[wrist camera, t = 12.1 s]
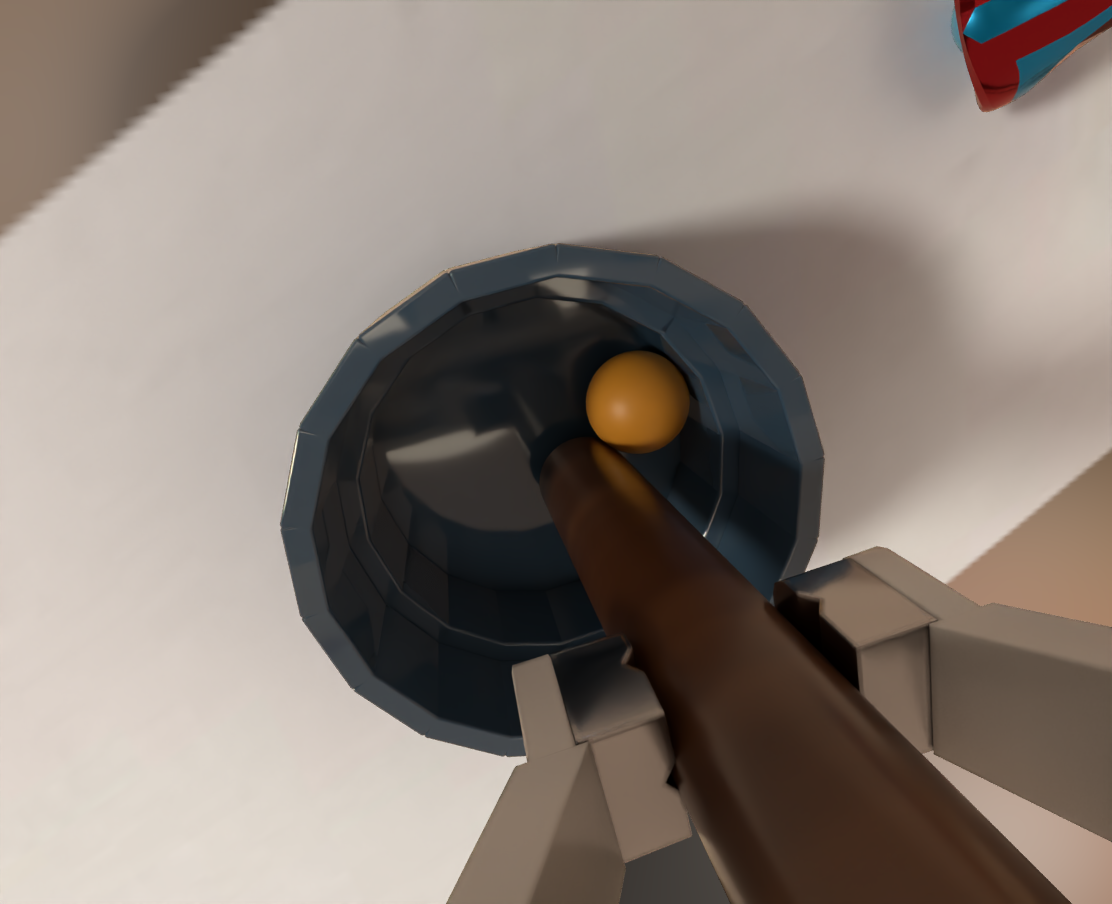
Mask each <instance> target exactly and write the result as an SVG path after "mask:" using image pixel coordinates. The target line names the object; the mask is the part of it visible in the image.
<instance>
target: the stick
mask: <svg viewBox="0 0 1112 904" xmlns="http://www.w3.org/2000/svg"><path fill="white" fill-rule="evenodd" d="M539 483H540V491H541V495H542V498H543V500H544V502H545V504H546V506H547V509H548V511H549V513H550V515H551V517H552V519H553V522H554V524H555V526H556V528H557V530H558V532H559V535H560V537H561V539H562V541H563V543H564V545H565V547H566V550H567V552H568V554H569V556H570V558H571V560H572V563H573V565H574V567H575V569H576V571H577V573H578V576H579V578H580V580H581V582H582V584H583V586H584V589H585V591H586V593H587V595H588V597H589V599H590V601H591V604H592V606H593V608H594V610H595V612H596V614H597V617H598V619H599V621H600V623H601V625H602V627H603V630H604V632H605V634H606V636H609V635H612V634H615V633H619V632H622V631H623V633H624V634H625V635H626V637H627V639H628V641H629V643H630V644H631V646H632V649H633V653H634V657H635V661H636V665H637V669H639V670H641V671H643V672H645V674H646V676H647V678H648V680H649V682H650V684H651V687H652V689H653V691H654V693H655V695H656V697H657V699H658V701H659V703H660V705H661V707H662V709H663V711H664V713H665V717H666V722H667V726H668V730H669V734H670V738H671V742H672V747H673V751H674V755H675V759H676V762H675V764H674V766H673V768H672V771H671V775H672V777H673V780H674V782H675V784H676V786H677V788H678V790H679V794H680V796H681V798H682V800H683V802H684V804H685V807H686V809H687V811H688V813H689V815H690V817H691V820H692V822H693V824H694V826H695V828H696V830H697V832H698V835H699V837H700V839H701V841H702V843H703V845H704V848H705V850H706V852H707V854H708V856H709V858H710V861H711V863H712V865H713V867H714V869H715V871H716V873H717V876H718V878H719V880H720V882H721V884H722V886H723V888H724V891H725V893H726V895H727V897H728V899H729V902H730V904H1071V902H1070V901H1069V900H1068V899H1067V898H1065V896H1064V895H1063V894H1062V893H1061V892H1060V891H1059V890H1057V888H1056V887H1055V886H1054V885H1053V884H1051V882H1050V881H1049V880H1048V879H1047V878H1046V877H1045V876H1044V875H1043V874H1042V873H1040V872H1039V870H1038V869H1036V867H1035V866H1034V865H1033V864H1032V863H1031V862H1030V861H1029V860H1028V859H1027V858H1026V857H1025V856H1024V855H1023V854H1022V853H1020V852H1019V850H1018V849H1016V848H1015V846H1013V844H1012V843H1011V842H1009V841H1008V839H1007V838H1006V837H1004V835H1003V834H1002V833H1000V832H999V830H998V829H996V828H995V827H994V826H993V825H992V824H991V823H990V822H989V821H988V820H987V819H986V818H985V817H984V816H983V815H982V814H981V813H980V812H979V811H978V810H977V809H976V808H975V807H974V806H973V805H972V804H971V803H970V802H969V801H968V800H967V799H966V798H965V797H964V796H963V795H962V794H961V793H960V792H959V791H958V790H957V789H956V788H955V787H954V786H953V785H952V784H951V783H950V782H949V781H948V780H947V779H946V778H945V777H944V776H943V775H942V774H941V773H940V772H939V771H938V770H937V769H936V768H935V767H934V766H933V765H932V764H931V763H930V762H929V761H928V760H927V759H926V758H925V757H924V756H923V755H922V754H921V753H920V752H919V751H918V750H917V749H916V748H915V747H914V746H913V745H912V744H911V743H910V742H909V741H908V740H907V739H906V738H905V737H904V736H903V735H902V734H901V733H900V732H899V731H898V730H897V729H896V728H895V727H894V726H893V725H892V724H891V723H890V722H889V721H888V720H887V719H886V718H885V717H884V716H883V715H882V714H881V713H880V712H879V711H878V710H877V709H876V708H875V707H874V706H873V705H872V704H871V703H870V702H869V701H868V700H867V699H866V698H865V697H864V696H863V695H862V694H861V693H860V692H859V691H858V690H857V689H856V688H855V687H854V686H853V685H852V684H851V683H850V682H849V681H848V680H847V679H846V678H845V677H844V676H843V675H842V674H841V673H840V672H839V671H838V670H837V669H836V668H835V667H834V666H833V665H832V664H831V663H830V662H829V661H828V660H827V659H826V658H825V657H824V656H823V655H822V654H821V653H820V652H819V651H818V650H817V649H816V648H815V647H814V646H813V645H812V644H811V643H810V642H809V641H808V640H807V639H806V638H805V637H804V636H803V635H802V634H801V633H800V632H799V631H798V630H797V629H796V628H795V627H794V626H793V625H792V624H791V623H790V622H789V621H788V620H787V619H786V618H785V617H784V616H783V615H782V614H781V613H780V612H779V611H778V610H777V609H776V608H775V607H774V606H773V605H772V604H771V603H770V602H769V601H768V600H767V599H766V598H765V597H764V596H763V595H762V594H761V593H760V592H759V591H758V590H757V589H756V588H755V587H754V586H753V585H752V584H751V583H750V582H749V581H748V580H747V579H746V578H745V577H744V576H743V575H742V574H741V573H740V572H739V571H738V570H737V569H736V568H735V567H734V566H733V565H732V564H731V563H730V562H729V561H728V560H727V559H726V558H725V557H724V556H723V555H722V554H721V553H720V552H719V551H718V550H717V549H716V548H715V547H714V546H713V545H712V544H711V543H710V542H709V541H708V540H707V539H706V538H705V537H704V536H703V535H702V534H701V533H700V532H699V531H698V530H697V529H696V528H695V527H694V526H693V525H692V524H691V523H690V522H689V521H688V520H687V519H686V518H685V517H684V516H683V515H682V514H681V513H680V512H679V511H678V510H677V509H676V508H675V507H674V506H673V505H672V504H671V503H670V502H669V501H668V500H667V499H666V498H665V497H664V496H663V495H662V494H661V493H660V492H659V491H658V490H657V489H656V488H655V487H654V486H653V485H652V484H651V483H650V482H649V481H648V480H647V479H646V478H645V477H644V476H643V475H642V474H641V473H640V472H639V471H638V470H637V469H636V468H635V467H634V466H633V465H632V464H631V463H630V462H629V461H628V460H627V459H626V458H625V457H624V456H623V455H622V454H621V453H620V452H619V451H618V450H616V449H614V448H612V447H611V446H609V445H607V444H606V443H605V442H604V441H602V440H601V439H599V438H595V437H578V438H574V439H571V440H568V441H566V442H564V443H562V444H561V445H559V446H558V447H557V448H556V449H554V450H553V451H552V452H551V454H550V455H549V456H548V457H547V459H546V461H545V462H544V464H543V467H542V470H541V473H540V481H539Z"/></svg>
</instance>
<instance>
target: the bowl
mask: <svg viewBox="0 0 1112 904" xmlns="http://www.w3.org/2000/svg"><path fill="white" fill-rule="evenodd" d="M629 351H648V352H652V353H656V354H658V355H660V356H662V357H664V358H666V359H667V360H669V361H670V362H671V363H673V364H674V365H675V366H676V367H677V368H678V370H679V371H680V372H681V374H682V376H683V377H684V379H685V381H686V384H687V387H688V391H689V398H690V405H689V413H688V416H687V420H686V422H685V424H684V426H683V428H682V430H681V431H680V433H679V434H678V435H677V436H676V437H675V438H674V439H673V440H672V441H671V442H670V443H668V444H667V445H666V446H664V447H662V448H660V449H658V450H656V451H653V452H649V453H643V454H631V453H626V452H621V451H619V450H618V451H619V452H620V453H621V454H622V455H623V456H624V457H625V458H626V459H627V460H628V461H629V462H630V463H631V464H632V465H633V466H634V467H635V468H636V469H637V470H638V471H639V472H640V473H641V474H642V475H643V476H644V477H645V478H646V479H647V480H648V481H649V482H650V483H651V484H652V485H653V486H654V487H655V488H656V489H657V490H658V491H659V492H660V493H661V494H662V495H663V496H664V497H665V498H666V499H667V500H668V501H669V502H670V503H671V504H672V505H673V506H674V507H675V508H676V509H677V510H678V511H679V512H680V513H681V514H682V515H683V516H684V517H685V518H686V519H687V520H688V521H689V522H690V523H691V524H692V525H693V526H694V527H695V528H696V529H697V530H698V531H699V532H700V533H701V534H702V535H703V536H704V537H705V538H706V539H707V540H708V541H709V542H710V543H711V544H712V545H713V546H714V547H715V548H716V549H717V550H718V551H719V552H720V553H721V554H722V555H723V556H724V557H725V558H726V559H727V560H728V561H729V562H730V563H731V564H732V565H733V566H734V567H735V568H736V569H737V570H738V571H739V572H740V573H741V574H742V575H743V576H744V577H745V578H746V579H747V580H748V581H749V582H750V583H751V584H752V585H753V586H754V587H755V588H756V589H757V590H758V591H759V592H760V593H761V594H762V595H763V596H764V597H765V598H766V599H767V600H768V601H769V602H770V603H771V604H772V605H773V606H774V599H773V589H774V583H775V582H777V581H780V580H783V579H786V578H789V577H792V576H795V575H798V574H801V573H804V572H805V570H806V568H807V565H808V563H809V561H810V558H811V556H812V554H813V551H814V549H815V546H816V544H817V541H818V540H817V538H818V537H819V527H820V514H821V500H822V487H823V473H824V460H825V459H824V457H823V456H824V451H823V447H822V444H821V441H820V437H819V434H818V430H817V427H816V423H815V420H814V416H813V413H812V409H811V406H810V403H809V399H808V396H807V392H806V389H805V385H804V382H803V378H802V376H801V375H800V373H799V371H798V370H797V368H796V367H795V366H794V365H793V363H792V362H791V361H790V359H789V358H788V357H787V356H786V354H785V353H784V352H783V351H782V349H781V348H780V347H779V345H778V344H777V343H776V342H775V340H774V339H773V338H772V337H771V335H770V334H769V333H768V332H767V330H766V329H765V328H764V326H763V325H762V324H761V323H760V321H759V320H758V319H757V318H756V316H755V315H754V314H753V312H752V311H751V310H750V309H749V307H748V306H747V305H745V304H744V303H743V302H742V301H741V300H739V299H737V298H736V297H734V296H732V295H730V294H729V293H727V292H725V291H723V290H721V289H720V288H718V287H716V286H714V285H712V284H711V283H709V282H707V281H705V280H703V279H702V278H700V277H698V276H696V275H694V274H693V273H691V272H689V271H687V270H686V269H684V268H682V267H680V266H678V265H677V264H675V263H673V262H671V261H669V260H668V259H666V258H664V257H659V256H657V255H653V254H645V253H637V252H628V251H620V250H612V249H604V248H595V247H587V246H579V245H571V244H563V243H558V244H548V245H543V246H538V247H533V248H528V249H523V250H518V251H513V252H509V253H505V254H501V255H498V256H494V257H490V258H486V259H482V260H478V261H474V262H471V263H467V264H463V265H459V266H455V267H451V268H448V269H447V270H446V271H445V270H443V271H442V272H440V273H439V274H438V275H436V276H435V277H433V278H432V279H431V280H429V281H428V282H426V283H425V284H424V285H422V286H421V287H419V288H418V289H417V290H415V291H414V292H412V293H411V294H410V295H408V296H407V297H406V298H404V299H403V300H401V301H400V302H399V303H397V304H396V305H394V306H393V307H392V308H390V309H389V310H387V311H386V312H385V313H384V314H382V315H381V316H380V317H379V318H378V319H377V320H375V321H374V322H373V323H372V324H371V325H370V326H368V327H367V328H366V329H365V330H364V331H363V332H361V333H360V334H359V336H358V337H357V338H356V339H354V341H353V342H352V344H351V345H350V347H349V348H348V350H347V351H346V353H345V355H344V356H343V358H342V359H341V361H340V362H339V364H338V365H337V367H336V369H335V370H334V372H333V373H332V375H331V376H330V378H329V379H328V381H327V383H326V384H325V386H324V387H323V389H322V390H321V392H320V393H319V395H318V397H317V398H316V400H315V401H314V403H313V404H312V406H311V407H310V409H309V411H308V412H307V414H306V415H305V417H304V418H303V420H302V421H301V423H300V426H299V427H300V428H299V429H298V430H297V434H296V439H295V445H294V450H293V456H292V461H291V467H290V472H289V478H288V483H287V489H286V494H285V500H284V505H283V511H282V516H281V522H280V526H281V534H282V539H283V543H284V548H285V552H286V556H287V561H288V565H289V569H290V574H291V578H292V583H293V587H294V591H295V596H296V600H297V605H298V609H299V613H300V616H301V617H302V620H303V622H304V624H305V625H306V626H307V628H308V629H309V631H310V632H311V633H312V635H313V636H314V637H315V639H316V640H317V642H318V643H319V644H320V646H321V647H322V649H323V650H324V651H325V653H326V654H327V656H328V657H329V658H330V660H331V661H332V663H333V664H334V665H335V667H336V668H337V670H338V671H339V672H340V674H341V675H342V677H343V678H344V679H345V681H346V682H347V683H348V685H349V686H350V688H352V689H354V691H355V692H356V693H357V694H359V695H360V696H362V697H364V698H365V699H367V700H368V701H370V702H371V703H373V704H374V705H376V706H377V707H379V708H380V709H382V710H383V711H385V712H387V713H388V714H390V715H391V716H393V717H394V718H396V719H397V720H399V721H400V722H402V723H403V724H405V725H406V726H408V727H410V728H411V729H413V730H414V731H416V732H417V733H419V734H420V735H425V737H427V738H431V739H435V740H439V741H443V742H447V743H451V744H455V745H459V746H463V747H467V748H471V749H475V750H479V751H483V752H487V753H491V754H495V755H499V756H505V755H506V756H507V757H517V756H526V752H525V747H524V741H523V735H522V729H521V724H520V718H519V712H518V707H517V701H516V695H515V690H514V684H513V678H512V665H515V664H518V663H521V662H525V661H528V660H531V659H534V658H537V657H540V656H543V655H546V654H548V655H550V657H551V654H550V653H552V652H556V651H559V650H562V649H566V648H569V647H572V646H576V645H579V644H582V643H586V642H589V641H592V640H595V639H599V638H602V637H605V636H606V634H605V632H604V630H603V627H602V625H601V623H600V621H599V619H598V617H597V614H596V612H595V610H594V608H593V606H592V604H591V601H590V599H589V597H588V595H587V593H586V591H585V589H584V586H583V584H582V582H581V580H580V578H579V576H578V573H577V571H576V569H575V567H574V565H573V563H572V560H571V558H570V556H569V554H568V552H567V550H566V547H565V545H564V543H563V541H562V539H561V537H560V535H559V532H558V530H557V528H556V526H555V524H554V522H553V519H552V517H551V515H550V513H549V511H548V509H547V506H546V504H545V502H544V500H543V498H542V495H541V491H540V483H539V481H540V473H541V470H542V467H543V464H544V462H545V461H546V459H547V457H548V456H549V455H550V454H551V452H552V451H553V450H554V449H556V448H557V447H558V446H559V445H561V444H562V443H564V442H566V441H568V440H571V439H574V438H578V437H595V438H599V437H598V435H597V434H596V433H595V431H594V430H593V428H592V426H591V424H590V422H589V419H588V416H587V411H586V395H587V390H588V387H589V383H590V381H591V379H592V377H593V376H594V374H595V373H596V371H597V370H598V369H599V368H600V367H601V366H602V365H603V364H604V363H605V362H606V361H608V360H609V359H611V358H612V357H614V356H616V355H618V354H621V353H624V352H629ZM599 439H600V438H599ZM551 661H552V658H551ZM552 664H553V661H552ZM553 667H554V665H553ZM554 671H555V669H554ZM555 674H556V672H555ZM556 677H557V676H556ZM557 681H558V679H557ZM558 684H559V683H558ZM559 687H560V686H559Z"/></svg>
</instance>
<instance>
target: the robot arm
mask: <svg viewBox="0 0 1112 904" xmlns="http://www.w3.org/2000/svg"><path fill="white" fill-rule="evenodd" d="M773 599H774V607H775V608H776V609H777V610H778V611H779V612H780V613H781V614H782V615H783V616H784V617H785V618H786V619H787V620H788V621H789V622H790V623H791V624H792V625H793V626H794V627H795V628H796V629H797V630H798V631H799V632H800V633H801V634H802V635H803V636H804V637H805V638H806V639H807V640H808V641H809V642H810V643H811V644H812V645H813V646H814V647H815V648H816V649H817V650H818V651H819V652H820V653H821V654H822V655H823V656H824V657H825V658H826V659H827V660H828V661H829V662H830V663H831V664H832V665H833V666H834V667H835V668H836V669H837V670H838V671H839V672H840V673H841V674H842V675H843V676H844V677H845V678H846V679H847V680H848V681H849V682H850V683H851V684H852V685H853V686H854V687H855V688H856V689H857V690H858V691H859V692H860V693H861V694H862V695H863V696H864V697H865V698H866V699H867V700H868V701H869V702H870V703H871V704H872V705H873V706H874V707H875V708H876V709H877V710H878V711H879V712H880V713H881V714H882V715H883V716H884V717H885V718H886V719H887V720H888V721H889V722H890V723H891V724H892V725H893V726H894V727H895V728H896V729H897V730H898V731H899V732H900V733H901V734H902V735H903V736H904V737H905V738H906V739H907V740H908V741H909V742H910V743H911V744H912V745H913V746H914V747H915V748H916V749H917V750H918V751H919V752H920V753H921V754H923V753H926V752H929V751H932V750H934V755H936V756H939V757H941V758H943V759H945V760H947V761H949V762H951V763H953V764H955V765H957V766H959V767H961V768H963V769H965V770H967V771H969V772H971V773H973V774H975V775H977V776H979V777H981V778H983V779H985V780H987V781H989V782H991V783H993V784H995V785H997V786H999V787H1002V788H1003V789H1006V790H1008V791H1009V792H1012V793H1014V794H1016V795H1018V796H1020V797H1022V798H1024V799H1026V800H1028V801H1030V802H1032V803H1034V804H1036V805H1038V806H1040V807H1042V808H1044V809H1046V810H1048V811H1050V812H1052V813H1054V814H1056V815H1058V816H1060V817H1062V818H1064V819H1066V820H1068V821H1070V822H1072V823H1074V824H1076V825H1079V826H1080V827H1083V828H1084V829H1087V830H1089V831H1091V832H1093V833H1095V834H1097V835H1099V836H1101V837H1103V838H1105V839H1107V840H1109V841H1111V842H1112V627H1108V626H1103V625H1098V624H1094V623H1089V622H1084V621H1079V620H1074V619H1069V618H1064V617H1060V616H1055V615H1050V614H1045V613H1040V612H1035V611H1030V610H1025V609H1020V608H1015V607H1010V606H1006V605H1001V604H996V603H991V604H987V605H984V606H979V605H978V604H976V603H974V602H973V601H971V600H969V599H968V598H966V597H965V596H963V595H961V594H960V593H958V592H957V591H955V590H954V589H952V588H950V587H949V586H947V585H946V584H944V583H942V582H941V581H939V580H938V579H936V578H934V577H933V576H931V575H930V574H928V573H927V572H925V571H923V570H922V569H920V568H919V567H917V566H915V565H914V564H912V563H911V562H909V561H907V560H906V559H904V558H903V557H901V556H899V555H898V554H896V553H895V552H893V551H891V550H890V549H888V548H884V547H879V546H876V547H873V548H870V549H867V550H865V551H862V552H859V553H856V554H854V555H851V556H848V557H845V558H843V559H842V560H841V561H838V562H835V563H832V564H829V565H826V566H823V567H820V568H816V569H813V570H810V571H807V572H804V573H801V574H798V575H795V576H792V577H789V578H786V579H783V580H780V581H777V582H775V583H774V589H773ZM550 654H551V657H550V655H548V654H546V655H543V656H540V657H537V658H534V659H531V660H528V661H525V662H521V663H518V664H515V665H512V678H513V684H514V690H515V695H516V701H517V707H518V712H519V718H520V724H521V729H522V735H523V741H524V747H525V752H526V758H527V763H524V764H521V765H519V766H516V767H515V768H514V770H513V772H512V774H511V776H510V778H509V780H508V782H507V784H506V786H505V788H504V790H503V792H502V794H501V796H500V798H499V800H498V802H497V804H496V806H495V808H494V810H493V812H492V814H491V816H490V818H489V820H488V822H487V824H486V826H485V828H484V830H483V831H482V833H481V835H480V837H479V839H478V841H477V843H476V845H475V847H474V849H473V851H472V853H471V855H470V857H469V859H468V861H467V863H466V865H465V867H464V869H463V871H462V873H461V875H460V877H459V879H458V881H457V883H456V885H455V887H454V889H453V891H452V893H451V895H450V897H449V899H448V901H447V903H446V904H619V900H620V895H621V890H622V884H623V880H624V875H625V870H626V868H625V864H624V863H627V862H629V861H631V860H634V859H636V858H639V857H641V856H644V855H646V854H649V853H651V852H653V851H656V850H659V849H661V848H664V847H666V846H669V845H671V844H674V843H676V842H679V841H681V840H684V839H686V838H688V837H691V836H692V832H691V828H690V823H689V818H688V814H687V809H686V807H685V804H684V802H683V800H682V798H681V796H680V794H679V790H678V788H677V786H676V784H675V782H674V780H673V777H672V775H671V771H672V768H673V766H674V764H675V762H676V759H675V755H674V751H673V747H672V742H671V738H670V734H669V730H668V726H667V722H666V717H665V713H664V711H663V709H662V707H661V705H660V703H659V701H658V699H657V697H656V695H655V693H654V691H653V689H652V687H651V684H650V682H649V680H648V678H647V676H646V674H645V672H643V671H641V670H639V669H637V665H636V661H635V657H634V653H633V649H632V646H631V644H630V643H629V641H628V639H627V637H626V635H625V634H624V633H623V631H622V632H619V633H615V634H612V635H609V636H605V637H602V638H599V639H595V640H592V641H589V642H586V643H582V644H579V645H576V646H572V647H569V648H566V649H562V650H559V651H556V652H552V653H550ZM551 658H552V661H553V664H552V661H551ZM553 665H554V667H553ZM554 669H555V671H554ZM555 672H556V674H555ZM556 676H557V677H556ZM557 679H558V681H557ZM558 683H559V684H558ZM559 686H560V687H559Z"/></svg>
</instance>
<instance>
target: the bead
mask: <svg viewBox="0 0 1112 904" xmlns="http://www.w3.org/2000/svg"><path fill="white" fill-rule="evenodd" d="M689 405H690V398H689V391H688V387H687V384H686V381H685V379H684V377H683V376H682V374H681V372H680V371H679V370H678V368H677V367H676V366H675V365H674V364H673V363H671V362H670V361H669V360H667V359H666V358H664V357H662V356H660V355H658V354H656V353H652V352H648V351H629V352H624V353H621V354H618V355H616V356H614V357H612V358H611V359H609V360H608V361H606V362H605V363H604V364H603V365H602V366H601V367H600V368H599V369H598V370H597V371H596V373H595V374H594V376H593V377H592V379H591V381H590V383H589V387H588V390H587V395H586V411H587V416H588V419H589V422H590V424H591V426H592V428H593V430H594V431H595V433H596V434H597V435H598V437H599V438H600V439H601V440H602V441H604V442H605V443H606V444H607V445H609V446H611V447H612V448H614V449H616V450H619V451H621V452H626V453H631V454H643V453H649V452H653V451H656V450H658V449H660V448H662V447H664V446H666V445H667V444H668V443H670V442H671V441H672V440H673V439H674V438H675V437H676V436H677V435H678V434H679V433H680V431H681V430H682V428H683V426H684V424H685V422H686V420H687V416H688V413H689Z"/></svg>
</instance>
